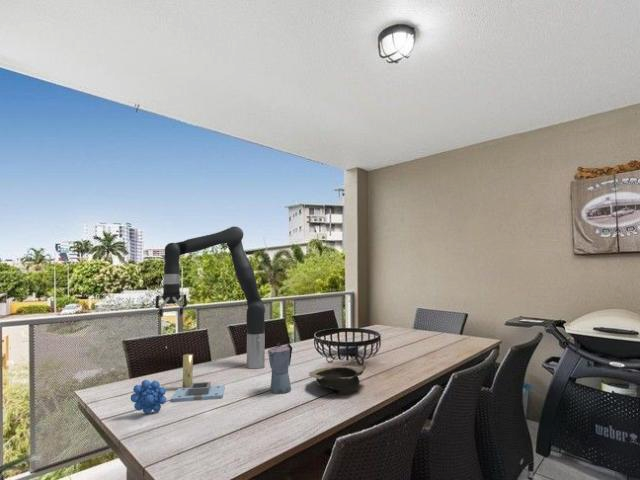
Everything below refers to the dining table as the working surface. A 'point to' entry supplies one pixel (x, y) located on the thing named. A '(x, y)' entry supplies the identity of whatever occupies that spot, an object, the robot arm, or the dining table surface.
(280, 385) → the moka pot
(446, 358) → the dining table surface
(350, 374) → the stone bowl
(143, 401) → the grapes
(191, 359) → the pin
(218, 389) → the square socket mounting plate
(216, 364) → the dining table surface
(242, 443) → the dining table surface
